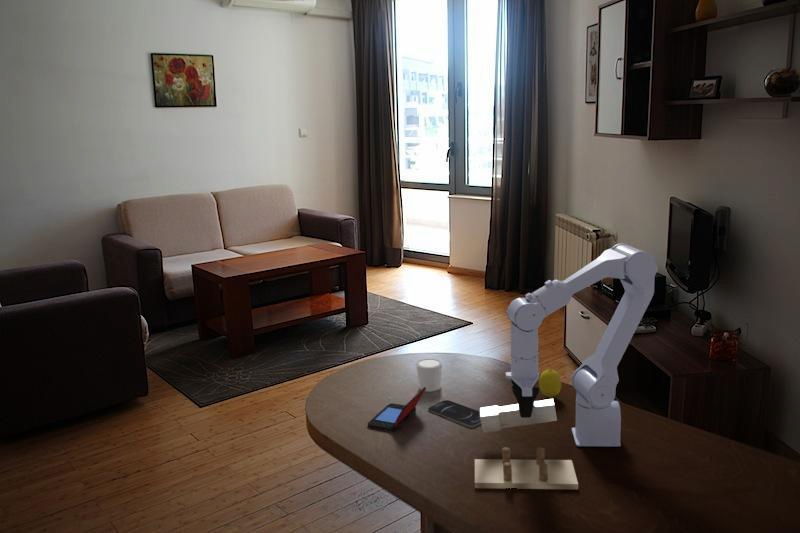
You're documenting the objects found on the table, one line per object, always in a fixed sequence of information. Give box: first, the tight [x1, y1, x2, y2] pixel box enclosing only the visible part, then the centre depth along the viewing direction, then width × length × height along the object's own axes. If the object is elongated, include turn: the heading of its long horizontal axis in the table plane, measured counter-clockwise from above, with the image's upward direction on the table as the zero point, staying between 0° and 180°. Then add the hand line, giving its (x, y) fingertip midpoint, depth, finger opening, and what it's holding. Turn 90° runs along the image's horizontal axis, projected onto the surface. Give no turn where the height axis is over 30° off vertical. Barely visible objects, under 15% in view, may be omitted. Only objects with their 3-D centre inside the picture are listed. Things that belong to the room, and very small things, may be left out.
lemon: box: [538, 368, 562, 399], centre depth 171 cm, size 6×6×8 cm
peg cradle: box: [474, 447, 579, 490], centre depth 137 cm, size 20×9×4 cm, turn 84°
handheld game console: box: [367, 387, 426, 433], centre depth 164 cm, size 12×11×7 cm
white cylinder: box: [416, 358, 443, 392], centre depth 182 cm, size 7×7×7 cm
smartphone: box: [427, 399, 482, 429], centre depth 166 cm, size 8×1×15 cm
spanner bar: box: [479, 398, 558, 434], centre depth 147 cm, size 16×5×4 cm, turn 83°
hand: (525, 413), depth 147 cm, fingers closed on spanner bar, 3 cm apart
